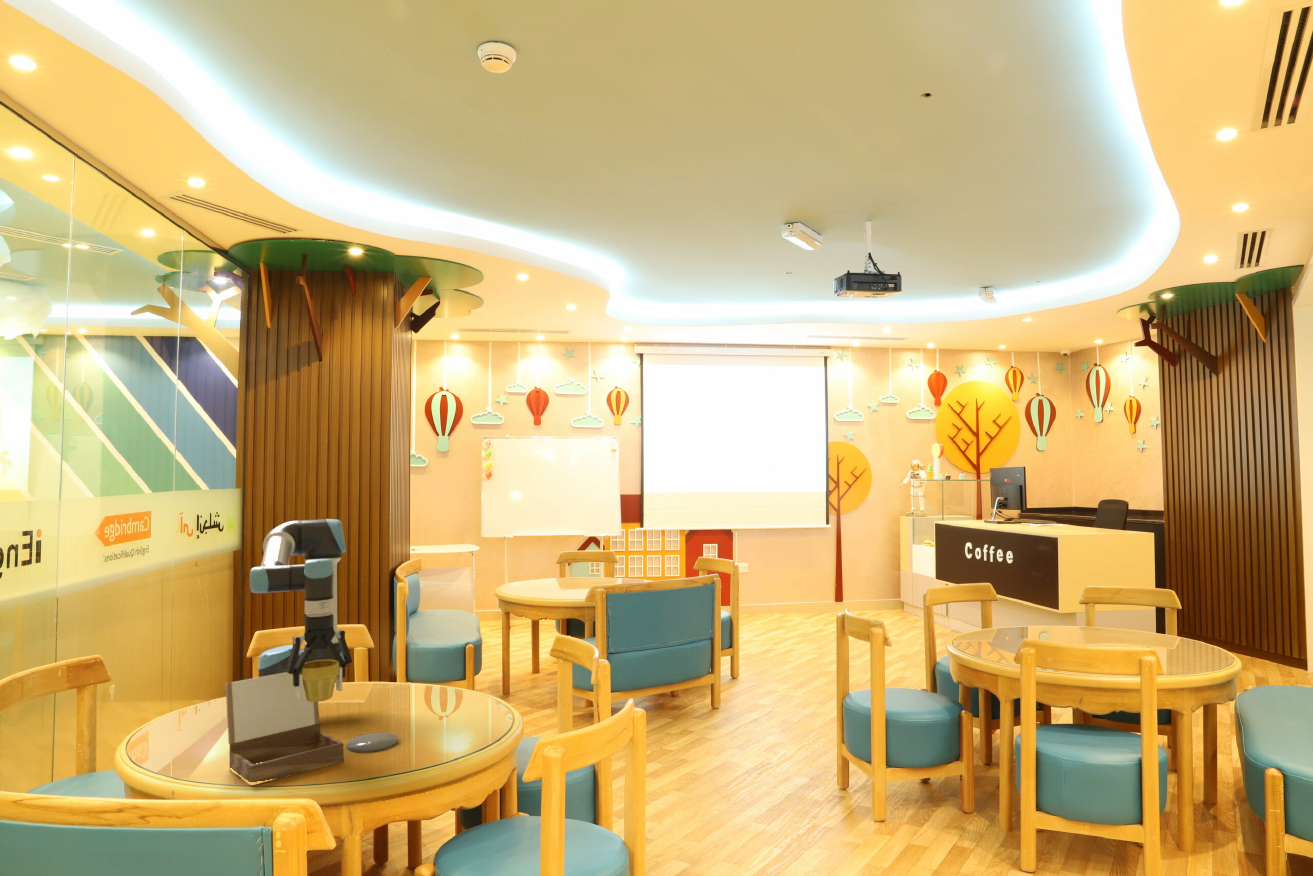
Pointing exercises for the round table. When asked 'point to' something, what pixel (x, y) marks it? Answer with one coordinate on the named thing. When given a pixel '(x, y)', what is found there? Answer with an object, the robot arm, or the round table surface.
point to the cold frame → (285, 753)
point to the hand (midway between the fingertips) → (319, 693)
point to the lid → (266, 707)
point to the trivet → (372, 742)
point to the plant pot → (319, 679)
